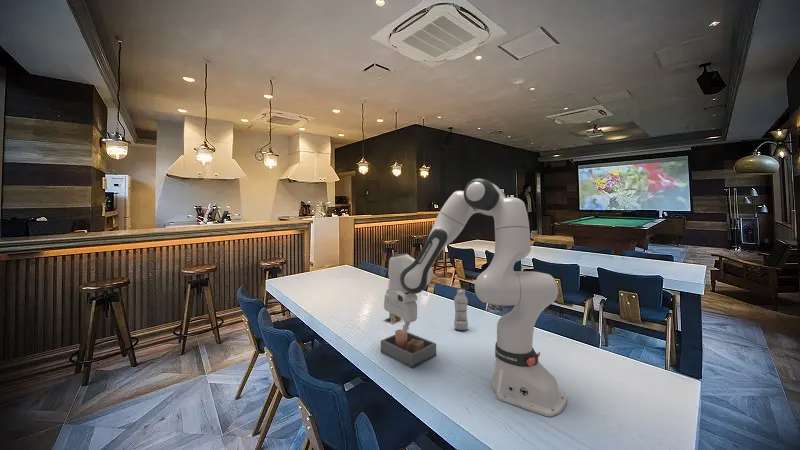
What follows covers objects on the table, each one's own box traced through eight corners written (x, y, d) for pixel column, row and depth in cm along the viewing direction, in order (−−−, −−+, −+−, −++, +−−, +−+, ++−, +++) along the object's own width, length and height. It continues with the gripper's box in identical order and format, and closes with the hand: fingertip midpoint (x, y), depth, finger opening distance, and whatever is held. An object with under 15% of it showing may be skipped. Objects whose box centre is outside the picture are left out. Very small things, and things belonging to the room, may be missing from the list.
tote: (436, 355, 124) (436, 343, 124) (412, 368, 114) (412, 355, 114) (404, 341, 137) (404, 330, 137) (380, 352, 127) (380, 340, 127)
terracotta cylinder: (409, 347, 130) (409, 330, 129) (403, 352, 125) (403, 335, 125) (398, 344, 132) (398, 328, 131) (393, 349, 127) (393, 332, 127)
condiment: (404, 320, 163) (404, 298, 162) (392, 324, 157) (392, 301, 156) (394, 316, 168) (394, 295, 167) (383, 320, 162) (382, 298, 161)
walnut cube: (424, 353, 124) (424, 341, 124) (418, 358, 120) (418, 346, 119) (413, 350, 126) (413, 338, 126) (407, 355, 122) (407, 343, 122)
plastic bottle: (468, 332, 146) (468, 291, 145) (453, 331, 148) (453, 290, 146) (467, 327, 153) (468, 287, 151) (454, 326, 154) (454, 287, 153)
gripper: (380, 289, 133) (380, 320, 133) (406, 299, 116) (406, 336, 116) (392, 287, 136) (392, 317, 137) (420, 297, 119) (420, 332, 119)
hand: (399, 326), depth 126 cm, fingers open, 8 cm apart
